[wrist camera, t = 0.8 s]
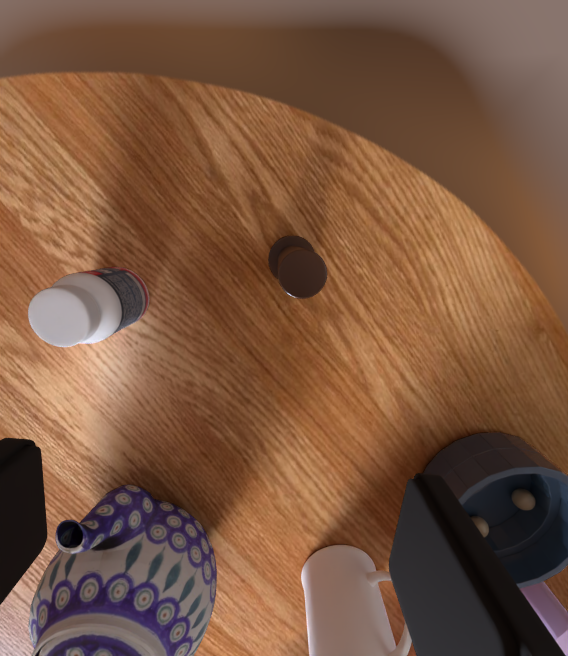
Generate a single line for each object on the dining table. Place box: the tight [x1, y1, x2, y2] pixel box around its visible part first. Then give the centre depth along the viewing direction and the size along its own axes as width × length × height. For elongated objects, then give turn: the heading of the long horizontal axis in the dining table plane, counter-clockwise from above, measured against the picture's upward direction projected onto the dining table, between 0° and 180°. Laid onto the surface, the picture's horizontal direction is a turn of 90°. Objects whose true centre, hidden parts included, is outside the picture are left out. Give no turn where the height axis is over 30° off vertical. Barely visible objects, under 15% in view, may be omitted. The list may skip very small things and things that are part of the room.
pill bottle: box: [28, 267, 149, 347], centre depth 26 cm, size 5×5×9 cm
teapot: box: [28, 484, 217, 656], centre depth 30 cm, size 25×15×15 cm, turn 2°
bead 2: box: [512, 489, 535, 510], centre depth 35 cm, size 2×2×2 cm
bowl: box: [423, 432, 568, 589], centre depth 33 cm, size 13×13×6 cm
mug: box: [301, 545, 412, 656], centre depth 33 cm, size 12×9×12 cm
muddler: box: [268, 236, 327, 299], centre depth 23 cm, size 4×4×14 cm
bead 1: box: [470, 516, 489, 537], centre depth 36 cm, size 2×2×2 cm
